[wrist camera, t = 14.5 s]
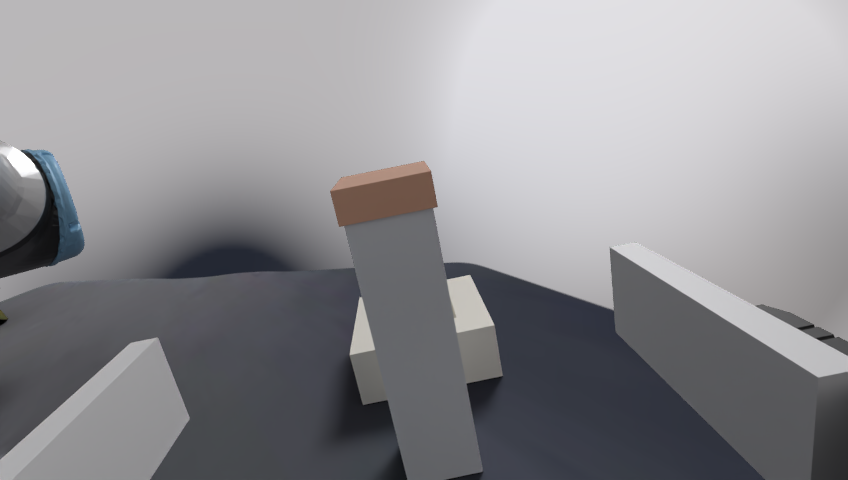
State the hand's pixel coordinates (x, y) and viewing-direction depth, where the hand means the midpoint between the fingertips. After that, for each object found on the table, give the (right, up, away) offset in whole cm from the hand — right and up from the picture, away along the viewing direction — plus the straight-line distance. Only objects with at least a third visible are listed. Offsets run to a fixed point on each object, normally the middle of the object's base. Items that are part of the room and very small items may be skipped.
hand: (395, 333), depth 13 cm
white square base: (+1, -7, +24) cm, 24 cm away
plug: (+2, -10, +13) cm, 16 cm away
